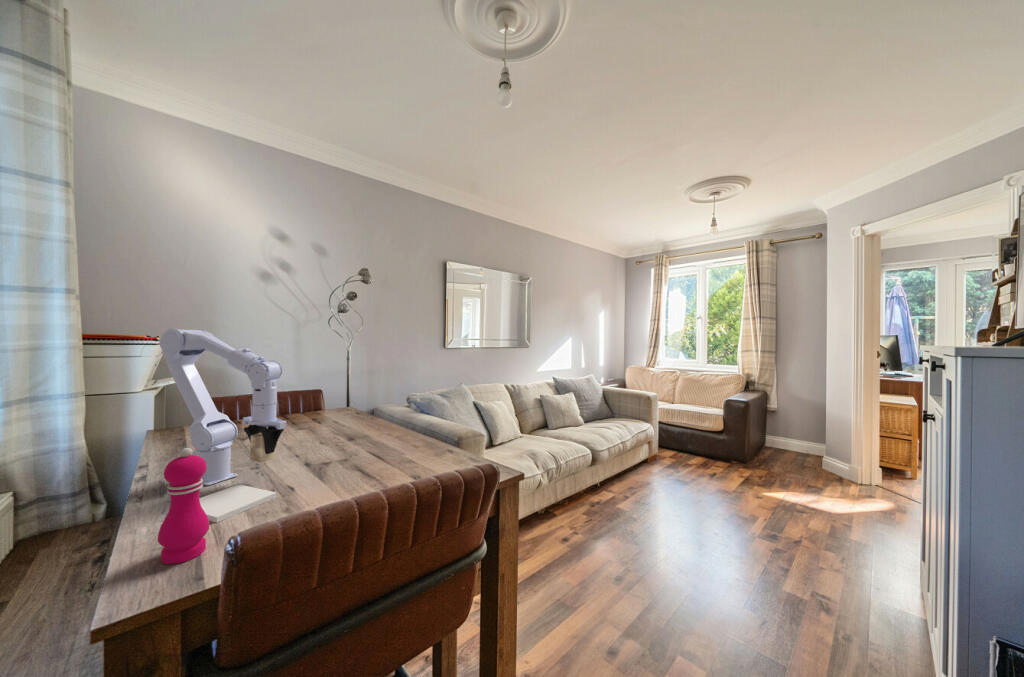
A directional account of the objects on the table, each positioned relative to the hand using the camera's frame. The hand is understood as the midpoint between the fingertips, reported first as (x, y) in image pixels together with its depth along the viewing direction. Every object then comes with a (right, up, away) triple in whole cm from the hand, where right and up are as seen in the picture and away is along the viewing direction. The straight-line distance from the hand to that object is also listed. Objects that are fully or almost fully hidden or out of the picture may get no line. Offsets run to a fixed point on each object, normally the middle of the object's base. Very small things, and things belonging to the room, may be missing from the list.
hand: (263, 451), depth 104 cm
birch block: (0, -2, 0) cm, 2 cm away
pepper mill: (+9, -9, -35) cm, 37 cm away
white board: (+1, -8, -14) cm, 17 cm away
